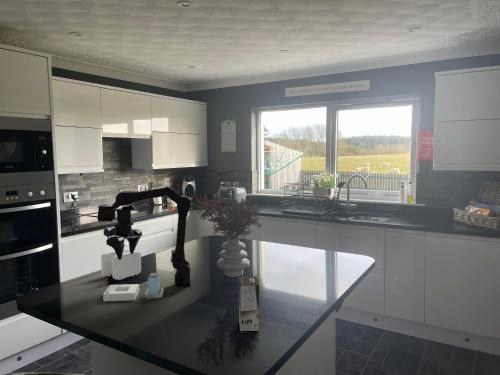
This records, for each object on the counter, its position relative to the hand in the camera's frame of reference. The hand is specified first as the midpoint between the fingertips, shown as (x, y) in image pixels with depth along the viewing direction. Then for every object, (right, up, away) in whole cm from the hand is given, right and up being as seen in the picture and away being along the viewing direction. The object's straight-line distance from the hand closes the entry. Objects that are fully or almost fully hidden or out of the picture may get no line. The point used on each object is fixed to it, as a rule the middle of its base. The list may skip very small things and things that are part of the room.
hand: (125, 256), depth 165 cm
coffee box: (+53, -18, -34) cm, 65 cm away
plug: (+14, -15, -7) cm, 21 cm away
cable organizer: (-8, -12, +17) cm, 23 cm away
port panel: (+1, -15, -8) cm, 17 cm away
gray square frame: (+14, -15, -7) cm, 21 cm away
